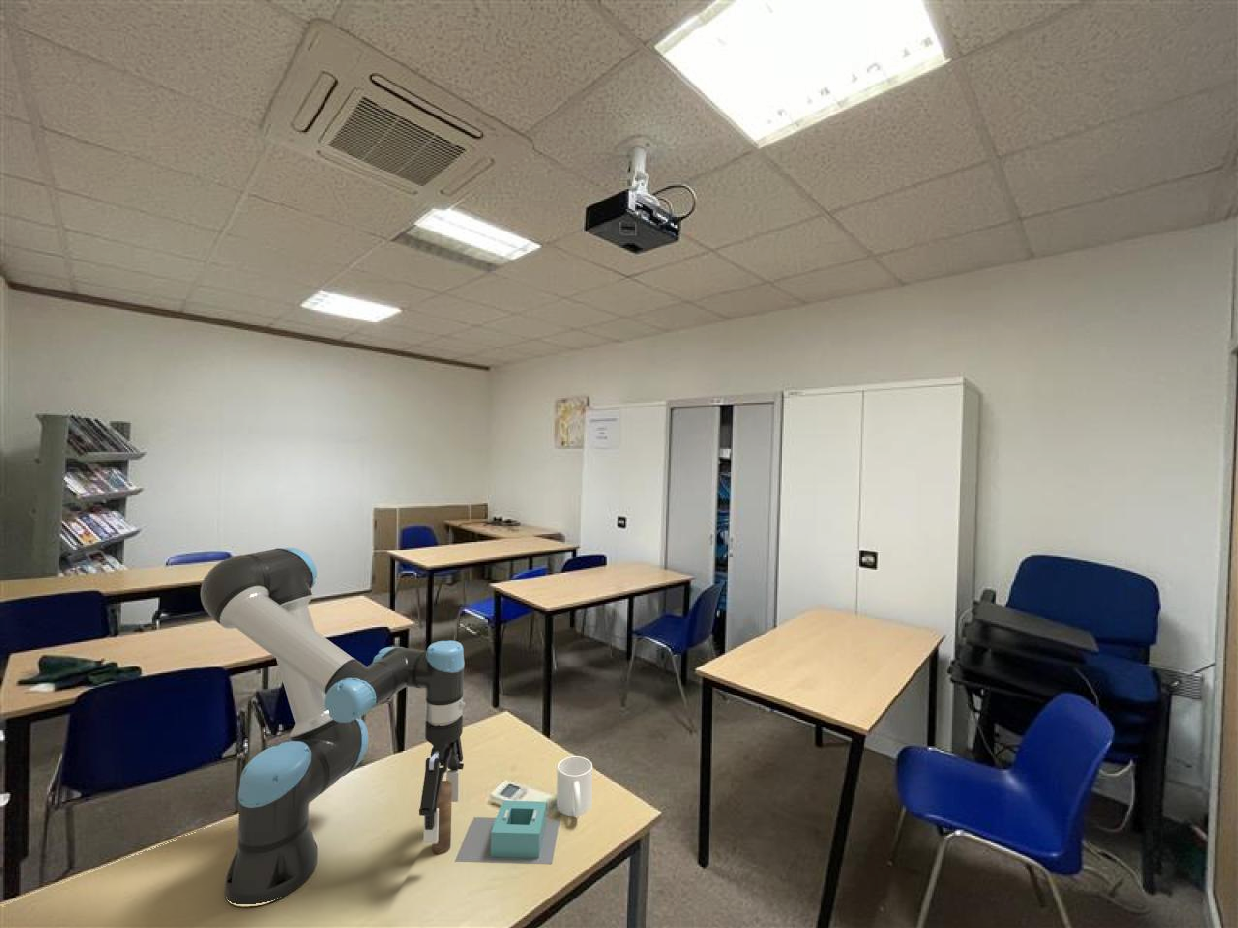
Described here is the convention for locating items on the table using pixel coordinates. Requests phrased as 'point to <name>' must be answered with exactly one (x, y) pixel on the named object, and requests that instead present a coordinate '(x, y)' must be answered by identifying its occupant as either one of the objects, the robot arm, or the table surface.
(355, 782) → the table surface
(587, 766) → the mug
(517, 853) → the teal square peg holder
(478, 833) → the board
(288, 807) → the robot arm
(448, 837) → the wooden rounded dowel
